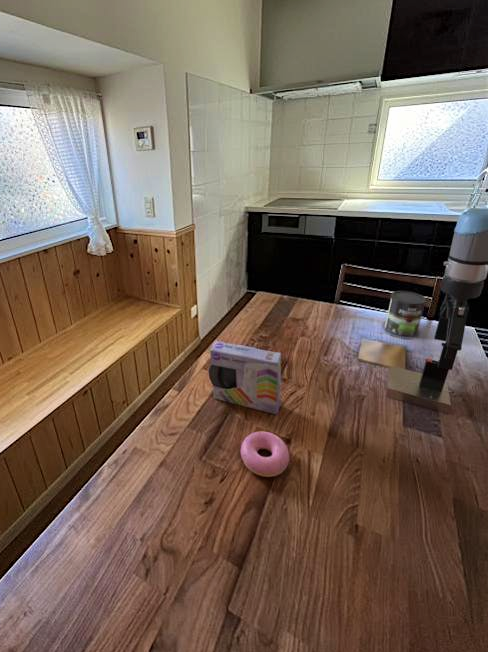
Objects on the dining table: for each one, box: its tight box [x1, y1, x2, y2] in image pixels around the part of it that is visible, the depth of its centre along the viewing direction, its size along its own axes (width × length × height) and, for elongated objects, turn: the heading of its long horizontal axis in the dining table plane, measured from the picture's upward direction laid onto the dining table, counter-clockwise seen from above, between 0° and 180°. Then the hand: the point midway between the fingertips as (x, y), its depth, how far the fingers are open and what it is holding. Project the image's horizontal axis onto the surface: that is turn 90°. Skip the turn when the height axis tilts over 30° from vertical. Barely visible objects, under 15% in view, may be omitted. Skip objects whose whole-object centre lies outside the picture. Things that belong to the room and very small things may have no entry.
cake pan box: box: [208, 340, 282, 415], centre depth 91 cm, size 19×5×18 cm, turn 65°
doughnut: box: [240, 430, 290, 478], centre depth 77 cm, size 11×11×4 cm
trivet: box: [357, 337, 406, 369], centre depth 110 cm, size 13×13×1 cm
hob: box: [385, 366, 452, 415], centre depth 93 cm, size 15×11×3 cm
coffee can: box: [384, 290, 427, 340], centre depth 119 cm, size 10×10×14 cm
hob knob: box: [420, 358, 450, 391], centre depth 90 cm, size 5×2×8 cm, turn 60°
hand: (442, 353), depth 87 cm, fingers open, 13 cm apart
